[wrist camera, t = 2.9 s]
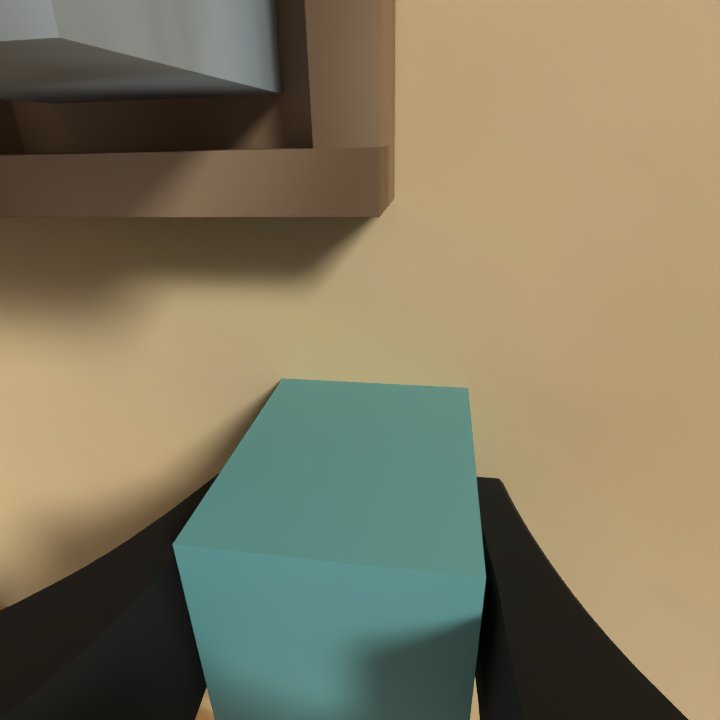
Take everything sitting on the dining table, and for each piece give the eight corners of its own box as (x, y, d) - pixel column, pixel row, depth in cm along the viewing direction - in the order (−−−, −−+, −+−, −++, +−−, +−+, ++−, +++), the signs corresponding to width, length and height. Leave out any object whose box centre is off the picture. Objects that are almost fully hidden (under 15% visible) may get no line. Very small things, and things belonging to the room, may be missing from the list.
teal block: (296, 518, 14) (216, 727, 9) (283, 377, 12) (172, 544, 7) (456, 533, 13) (463, 768, 8) (467, 386, 11) (486, 577, 7)
